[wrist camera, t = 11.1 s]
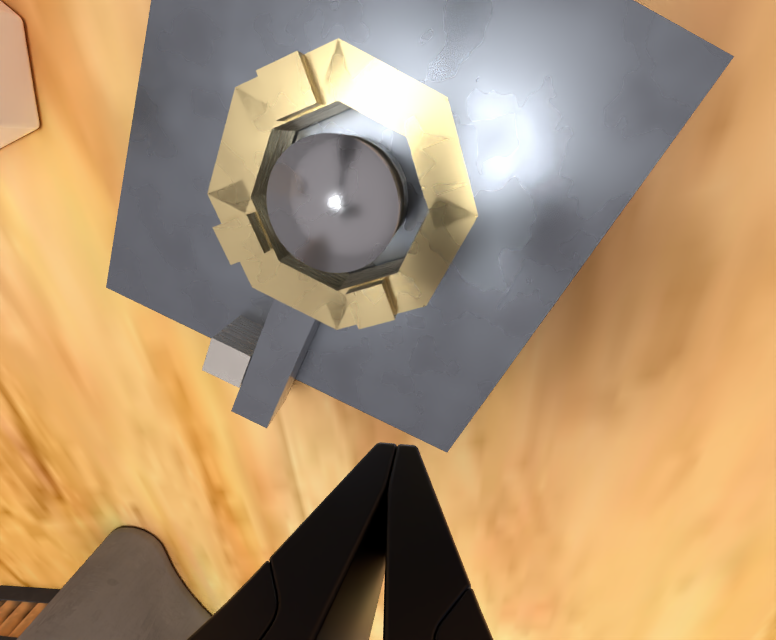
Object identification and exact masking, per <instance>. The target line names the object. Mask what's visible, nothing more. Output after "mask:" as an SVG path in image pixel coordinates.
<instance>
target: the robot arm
mask: <svg viewBox="0 0 776 640" xmlns="http://www.w3.org/2000/svg"><path fill="white" fill-rule="evenodd" d="M269 560H270V562H269V561H266V562H265V563H264V564H263V565H262V566H261V567H260V569H259V570H258V571H257V572H256V573H255V574H254V575H253V576H252V577H251V578H250V579H249V580H248V581H247V582H246V583H245V584H244V585H243V586H242V587H241V588H240V589H239V590H238V591H237V592H236V593H235V594H234V595H233V596H232V597H231V598H230V599H229V600H228V601H227V602H226V603H225V604H224V605H223V606H222V607H221V608H220V609H219V610H218V611H217V612H216V613H215V614H214V615H212V616H211V617H210V618H209V619H208V620H207V621H206V622H205V623H204V624H203V625H202V626H201V627H200V628H198V629H197V630H196V631H195V632H194V633H193V634H192V635H191V636H190V637H189V638H187V639H186V640H369V637H370V633H371V629H372V624H373V620H374V616H375V612H376V608H377V603H378V599H379V595H380V591H381V586H382V582H383V578H384V574H385V589H384V627H383V640H493V638H492V635H491V633H490V631H489V628H488V626H487V623H486V621H485V619H484V616H483V614H482V612H481V609H480V607H479V604H478V601H477V599H476V596H475V594H474V591H473V589H471V584H470V581H469V579H468V576H467V574H466V571H465V568H464V566H463V563H462V561H461V558H460V556H459V553H458V550H457V548H456V545H455V543H454V540H453V538H452V535H451V532H450V530H449V527H448V525H447V522H446V519H445V517H444V514H443V512H442V509H441V507H440V504H439V501H438V499H437V496H436V494H435V491H434V489H433V486H432V483H431V481H430V478H429V476H428V473H427V470H426V468H425V465H424V463H423V460H422V458H421V455H420V452H419V450H418V448H417V447H416V446H414V445H404V444H400V445H398V446H396V444H392V443H377V444H376V445H375V446H374V447H373V448H372V449H371V450H370V451H369V453H368V454H367V455H366V456H365V457H364V458H363V459H362V460H361V461H360V462H359V463H358V464H357V465H356V466H355V467H354V469H353V470H352V471H351V472H350V473H349V474H348V475H347V476H346V477H345V478H344V479H343V480H342V481H341V482H340V483H339V485H338V486H337V487H336V488H335V489H334V490H333V491H332V492H331V493H330V494H329V495H328V496H327V497H326V498H325V499H324V501H323V502H322V503H321V504H320V505H319V506H318V507H317V508H316V509H315V510H314V511H313V512H312V513H311V514H310V515H309V517H308V518H307V519H306V520H305V521H304V522H303V523H302V524H301V525H300V526H299V527H298V528H297V529H296V530H295V531H294V533H293V534H292V535H291V536H290V537H289V538H288V539H287V540H286V541H285V542H284V543H283V544H282V545H281V546H280V547H279V549H278V550H277V551H276V552H275V553H274V554H273V555H272V556H271V557H270V559H269Z"/></svg>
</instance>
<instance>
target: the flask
mask: <svg viewBox="0 0 776 640" xmlns="http://www.w3.org/2000/svg"><path fill="white" fill-rule="evenodd" d="M210 617H211V615H210V614H209V613H208V612H207V611H206V610H205V609H204V608H203V607H202V606H201V605H200V604H199V603H198V602H197V600H196V599H195V598H194V597H193V596H192V594H191V593H190V592H189V591H188V589H187V588H186V587H185V586H184V584H183V583H182V581H181V580H180V578H179V577H178V575H177V574H176V572H175V570H174V569H173V567H172V565H171V563H170V561H169V559H168V557H167V555H166V553H165V551H164V549H163V547H162V544H161V543H160V542H159V541H158V540H157V539H156V538H155V537H154V536H153V535H151V534H149V533H147V532H146V531H144V530H140V529H137V528H119V529H116V530H114V531H112V532H111V533H110V534H109V536H108V537H107V538H106V539H105V540H104V541H103V542H102V544H101V545H100V546H99V547H98V548H97V549H96V550H95V551H94V553H93V554H92V555H91V556H90V557H89V558H88V559H87V560H86V562H85V563H84V564H83V565H82V566H81V567H80V568H79V569H78V571H77V572H76V573H75V574H74V575H73V576H72V577H71V579H70V580H69V581H68V582H67V583H66V584H65V585H64V586H63V588H62V589H61V590H60V591H59V592H58V593H57V594H56V595H55V597H54V598H53V599H52V600H51V601H50V602H49V603H48V605H47V606H46V607H45V608H44V609H43V610H42V611H41V612H40V614H39V615H38V616H37V617H36V618H35V619H34V620H33V621H32V623H31V624H30V625H29V626H28V627H27V628H26V629H25V630H24V632H23V633H22V634H21V635H20V636H19V637H18V638H17V640H186V639H187V638H189V637H190V636H191V635H192V634H193V633H194V632H195V631H196V630H197V629H198V628H200V627H201V626H202V625H203V624H204V623H205V622H206V621H207V620H208V619H209V618H210Z"/></svg>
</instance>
